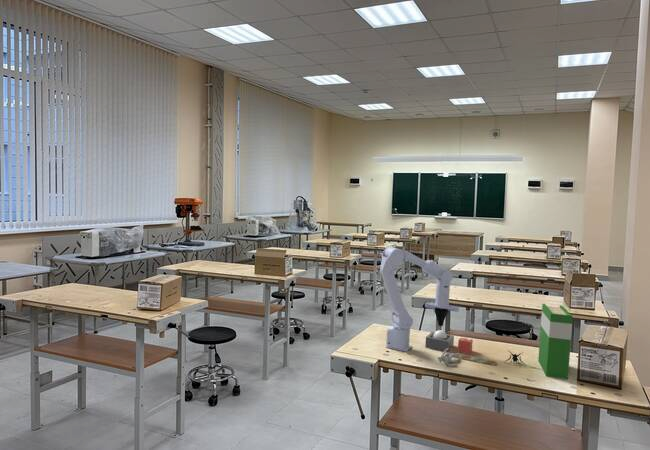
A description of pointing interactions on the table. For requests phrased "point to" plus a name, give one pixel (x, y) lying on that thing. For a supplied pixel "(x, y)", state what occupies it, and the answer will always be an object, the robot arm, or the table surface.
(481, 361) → the track
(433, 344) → the dome base
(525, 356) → the table surface
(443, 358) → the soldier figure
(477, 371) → the table surface
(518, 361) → the creature
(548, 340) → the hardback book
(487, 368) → the table surface
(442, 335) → the dome
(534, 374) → the table surface
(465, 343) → the die
